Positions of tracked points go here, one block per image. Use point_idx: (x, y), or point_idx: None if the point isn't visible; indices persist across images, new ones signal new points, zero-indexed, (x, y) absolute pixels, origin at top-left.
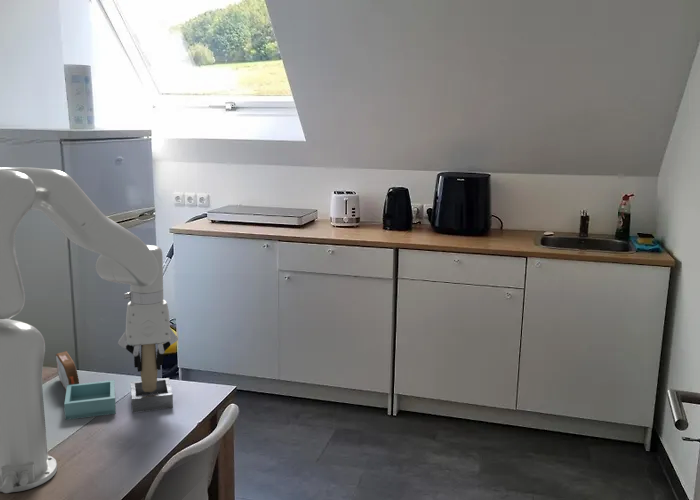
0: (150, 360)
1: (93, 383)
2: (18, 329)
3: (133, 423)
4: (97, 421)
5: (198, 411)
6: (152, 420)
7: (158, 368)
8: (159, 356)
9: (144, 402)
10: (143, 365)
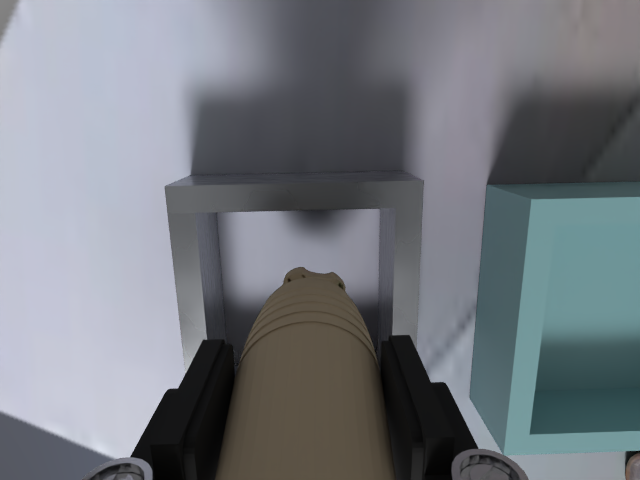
0: (287, 390)
1: (620, 435)
2: None
3: (406, 34)
4: (582, 117)
5: (45, 88)
6: (303, 43)
7: (220, 341)
8: (169, 428)
9: (343, 178)
10: (362, 371)
